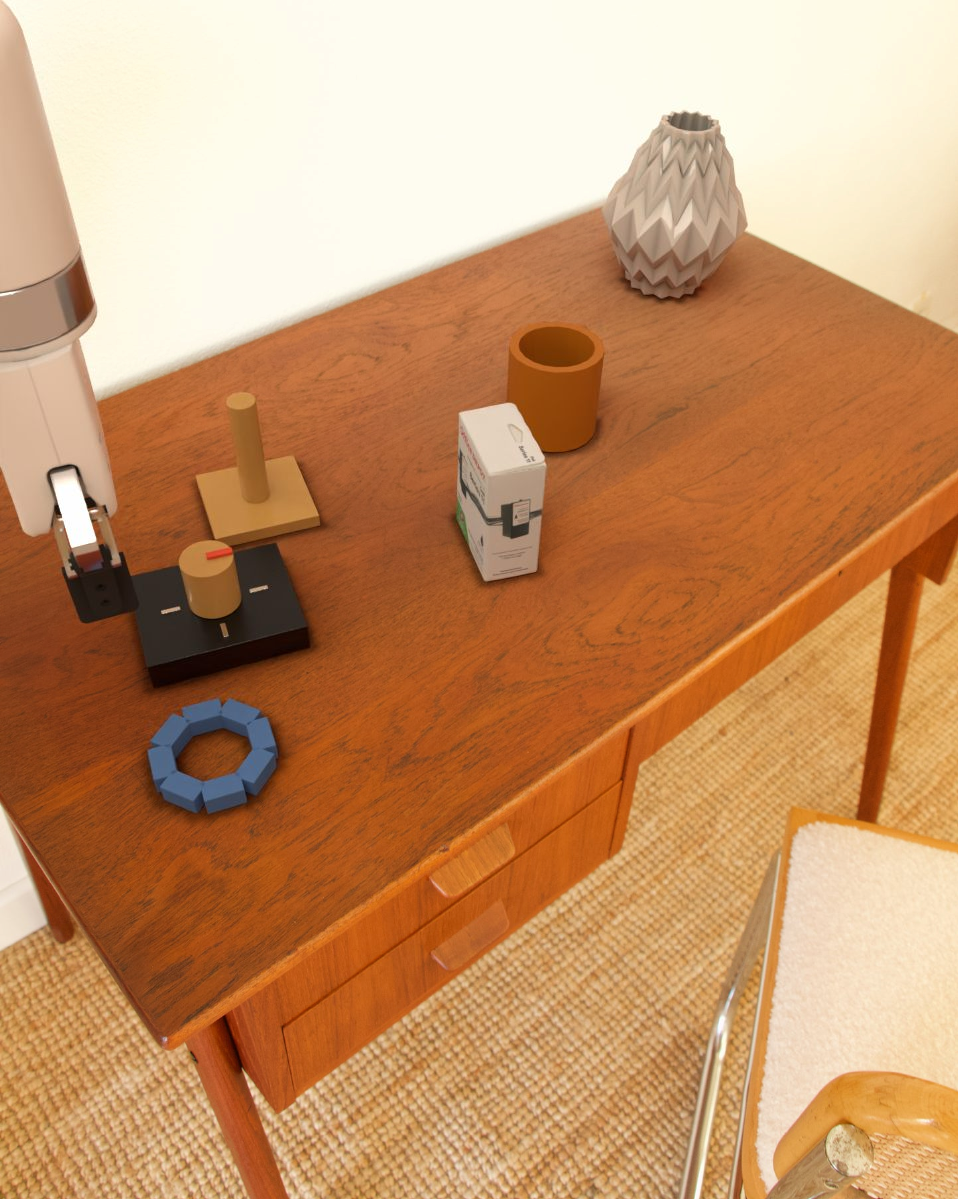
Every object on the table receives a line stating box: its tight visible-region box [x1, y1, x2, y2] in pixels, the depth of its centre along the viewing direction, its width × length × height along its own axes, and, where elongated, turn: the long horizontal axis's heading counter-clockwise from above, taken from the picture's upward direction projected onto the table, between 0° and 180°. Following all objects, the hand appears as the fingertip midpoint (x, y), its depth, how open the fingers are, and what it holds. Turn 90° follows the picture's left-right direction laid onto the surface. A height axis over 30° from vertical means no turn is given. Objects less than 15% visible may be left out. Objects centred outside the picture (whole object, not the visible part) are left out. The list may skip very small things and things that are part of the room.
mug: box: [506, 321, 606, 453], centre depth 98 cm, size 9×12×9 cm
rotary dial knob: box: [178, 539, 242, 619], centre depth 77 cm, size 4×4×5 cm
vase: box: [601, 109, 749, 299], centre depth 114 cm, size 16×16×18 cm
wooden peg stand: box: [195, 391, 321, 547], centre depth 87 cm, size 9×9×11 cm
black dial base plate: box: [130, 542, 311, 689], centre depth 80 cm, size 12×10×3 cm
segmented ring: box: [147, 697, 279, 815], centre depth 71 cm, size 8×8×2 cm
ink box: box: [455, 402, 548, 582], centre depth 84 cm, size 9×5×12 cm, turn 17°
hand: (95, 557), depth 60 cm, fingers open, 9 cm apart
